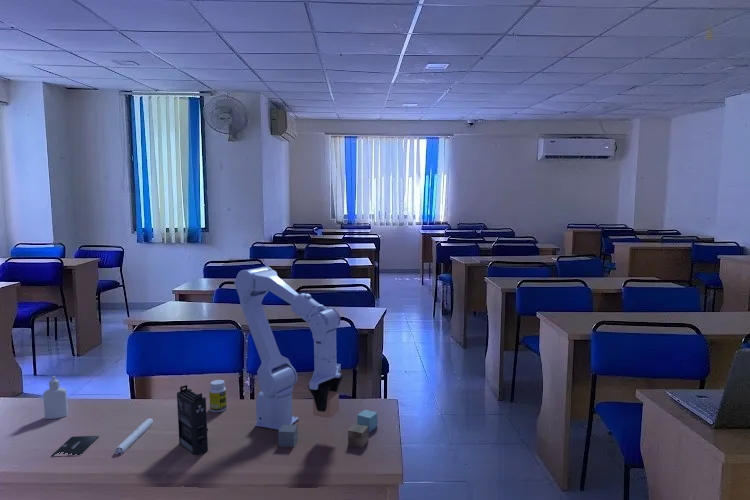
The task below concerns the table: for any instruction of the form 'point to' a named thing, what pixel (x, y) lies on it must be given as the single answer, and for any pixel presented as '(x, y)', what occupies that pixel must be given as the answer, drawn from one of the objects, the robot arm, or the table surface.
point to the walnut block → (358, 435)
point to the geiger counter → (192, 421)
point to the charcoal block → (288, 435)
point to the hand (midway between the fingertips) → (326, 406)
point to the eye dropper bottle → (55, 400)
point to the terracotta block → (328, 406)
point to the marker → (134, 436)
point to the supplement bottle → (218, 396)
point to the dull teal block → (367, 419)
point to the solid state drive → (76, 445)
